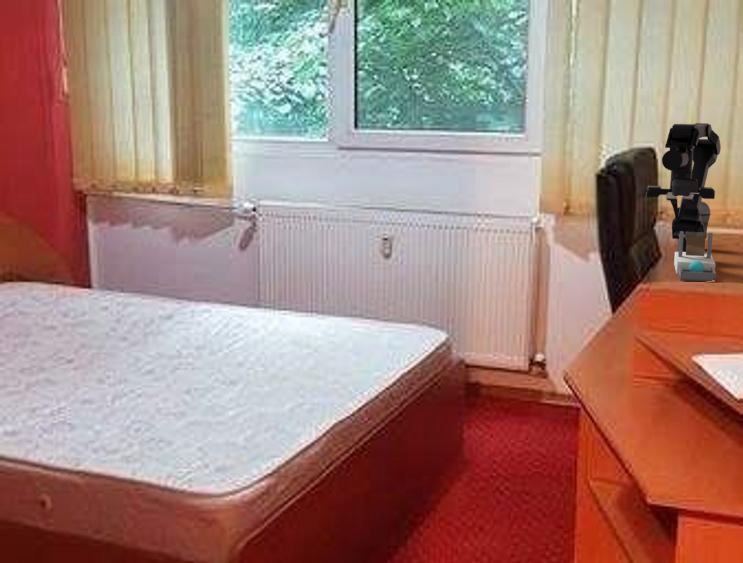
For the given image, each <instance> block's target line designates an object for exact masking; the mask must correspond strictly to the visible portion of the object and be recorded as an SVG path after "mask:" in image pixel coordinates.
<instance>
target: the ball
mask: <svg viewBox="0 0 743 563" xmlns="http://www.w3.org/2000/svg"><path fill="white" fill-rule="evenodd" d="M689 270H690V272H703V271H704V265H703V263H702V262H700V261H693V262H692V263H691V264H690V266H689Z"/></svg>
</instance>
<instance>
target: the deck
mask: <svg viewBox="0 0 743 563" xmlns="http://www.w3.org/2000/svg"><path fill="white" fill-rule="evenodd" d="M683 238H684V232H683V231H680V238H679V252H677V251H674V258H673V259H674V261H673V264H674V268H675V273H676V275H679V266H681V267H682V269H687V270H689V266H690V264H691V263H692V262H693V261H700V262H702V263H703V265H704V270H706V271H711V267H713V268H714V270H715V271H716V262H715V260H714V258H713V255H712V250H713V249H712V247H713V232H707V248H706V252H705V255H704V256H690V255H686V252H682V251H683Z"/></svg>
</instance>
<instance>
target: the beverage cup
mask: <svg viewBox="0 0 743 563" xmlns="http://www.w3.org/2000/svg"><path fill="white" fill-rule="evenodd" d="M699 212H700V215H701V217H702V221H703V225H704V230H705V232H707V231H708V226H709V221H710V219H711V218H710V217H711V208H710V206H709V205H708V204H707V203H706V202H705V201H702V200H701V204H700V208H699ZM707 233H708V232H707Z"/></svg>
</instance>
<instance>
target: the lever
mask: <svg viewBox="0 0 743 563" xmlns="http://www.w3.org/2000/svg"><path fill="white" fill-rule="evenodd" d="M707 238H708V232H686V255H690V256H704V255H705V253H706V250H705V249H706V239H707Z"/></svg>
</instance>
